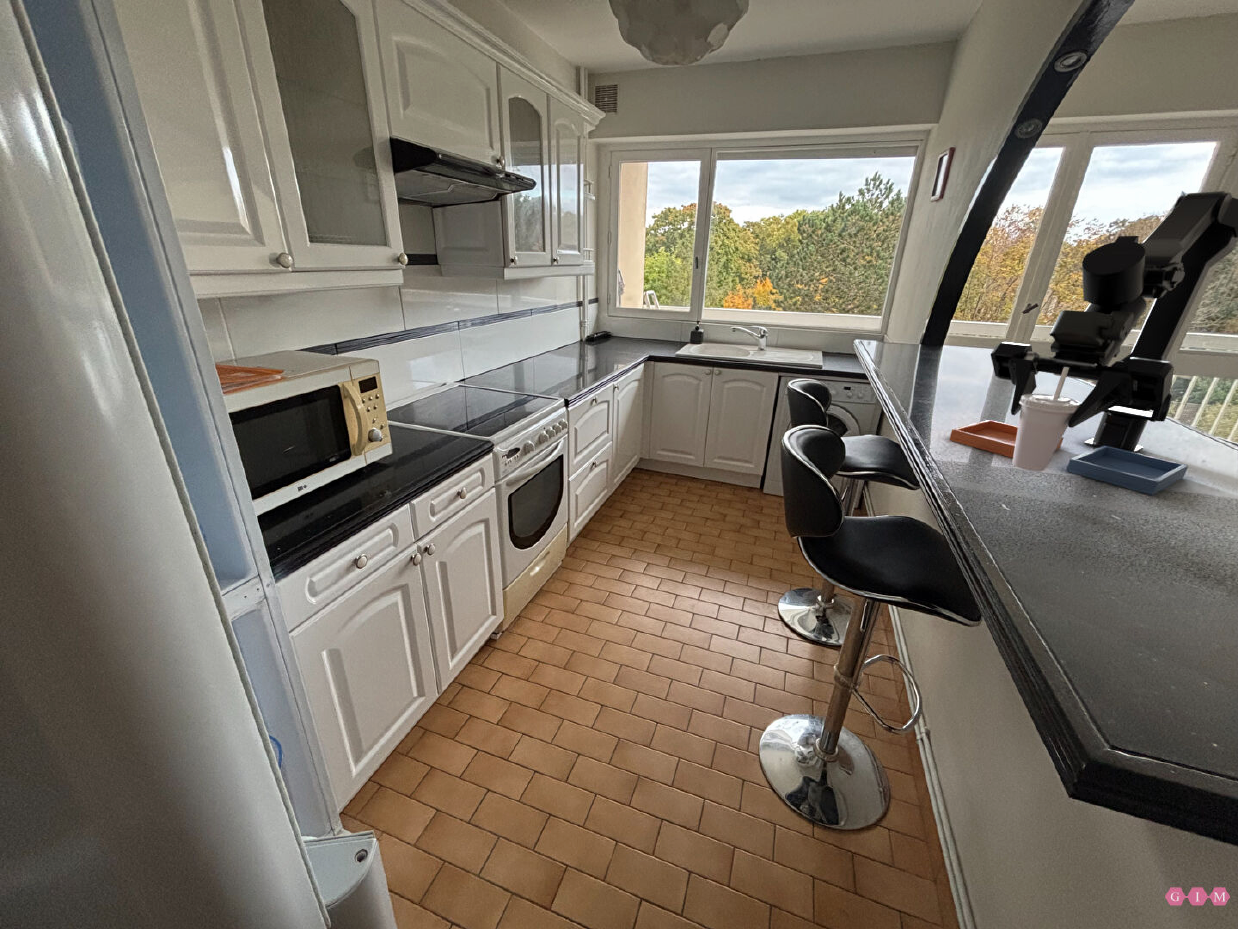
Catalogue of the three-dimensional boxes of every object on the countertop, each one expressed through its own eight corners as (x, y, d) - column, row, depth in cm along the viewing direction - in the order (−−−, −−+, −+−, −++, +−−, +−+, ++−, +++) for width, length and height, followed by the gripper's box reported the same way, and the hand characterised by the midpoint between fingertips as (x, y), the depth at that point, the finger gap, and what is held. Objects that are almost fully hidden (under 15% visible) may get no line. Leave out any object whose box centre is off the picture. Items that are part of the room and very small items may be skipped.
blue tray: (1099, 457, 86) (1104, 445, 86) (1183, 477, 78) (1188, 465, 77) (1065, 471, 80) (1070, 458, 79) (1152, 495, 72) (1158, 482, 71)
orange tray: (985, 429, 100) (988, 419, 99) (1059, 448, 90) (1064, 437, 89) (948, 440, 94) (951, 429, 93) (1024, 461, 84) (1028, 449, 83)
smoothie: (1067, 476, 68) (1106, 373, 62) (1014, 472, 69) (1047, 371, 64) (1041, 459, 74) (1074, 363, 68) (992, 456, 75) (1021, 361, 69)
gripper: (1016, 283, 72) (955, 369, 70) (1206, 290, 57) (1133, 399, 56) (1024, 336, 78) (969, 415, 77) (1195, 354, 64) (1130, 452, 63)
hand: (1039, 419), depth 68 cm, fingers closed on smoothie, 6 cm apart
